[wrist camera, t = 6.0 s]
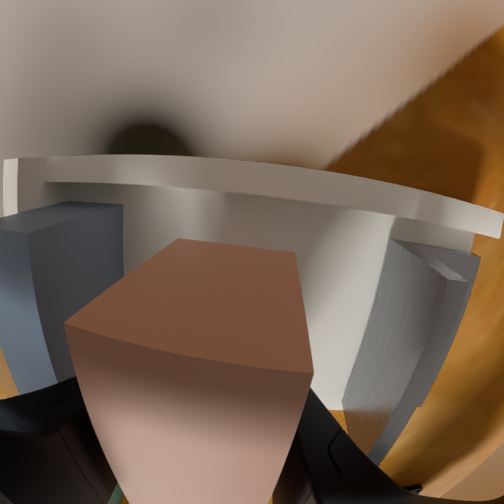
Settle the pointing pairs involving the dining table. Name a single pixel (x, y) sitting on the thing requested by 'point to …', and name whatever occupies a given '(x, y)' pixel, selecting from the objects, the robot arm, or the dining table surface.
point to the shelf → (210, 230)
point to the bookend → (406, 340)
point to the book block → (196, 372)
